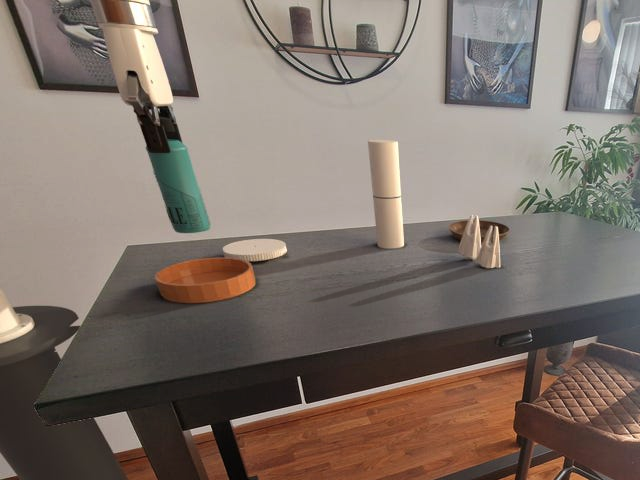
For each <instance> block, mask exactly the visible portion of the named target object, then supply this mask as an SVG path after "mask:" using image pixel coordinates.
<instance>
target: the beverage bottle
mask: <svg viewBox="0 0 640 480" xmlns="http://www.w3.org/2000/svg"><path fill="white" fill-rule="evenodd" d="M159 121H160V126H163V127H164V130H165V132H175V128H174V126H173V124H172V121H171V119H170V118H164V117H159ZM167 140H168V143H169V146H170V150H171V152H170V153H150V152H149V151H148V148H147V145H145V150H146V152H147V155H148V158H149V160H150V163H151V166H152V172H153V175H154V178H155V179H156V180H155V181H156V184H157V186H158V187H159V190H160V194H161V198H162V200H163V202H164V208H165V210H166V214H167V216H168V220H169V222H170V224H171V227H172V228H173V230H174V232H176V233H178V234H197V233H202V232H206V231H209V230H210V229H211V220H210V217H209V215H208V212H207V209H206V208H207V207H206V205H205V202H204V198H203V195H202V192H201V189H200V186H199V185H198V181H197V177H196V173H195V171H194V167H193V163H192V161H191V157H190V154H189V151H188V149H189V148H188V146H187V145H186V144H184V143H182V142H183V141H182V142H180V141H179V140H172V139H167Z"/></svg>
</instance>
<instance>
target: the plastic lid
mask: <svg viewBox="0 0 640 480" xmlns="http://www.w3.org/2000/svg"><path fill="white" fill-rule="evenodd" d="M221 249H222V254H223V256H224V257H223V258H236V259H242V260H245V261H248V262H258V261H259V262H260V261H266V260H272V259H276V258H279V257H281V256H283V255H285V254H286V253H287V251H288V250H287V244H286V242H284V241H282V240H280V239H274V238H273V239H272V238H251V239H243V240H238V241H234V242H231V243H228V244H226V245H224V246H223V247H222V248H221Z"/></svg>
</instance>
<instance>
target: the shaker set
mask: <svg viewBox="0 0 640 480" xmlns="http://www.w3.org/2000/svg"><path fill="white" fill-rule="evenodd" d="M467 220H468V223H467V225H466V228H465V231H464V233H463V236H462V239H461V241H460V242H459V244H458V248H457V253H458V254H459V255H461V256H463V257H465V258H467V259H469V260H472V261H475V262H474V263H476V264H478V265H480V267H483V268H485V269H494V268H496V269H500V268H501V251H500V249H501V248H500V241H499V234H498V227H497V226H495V229H494V236H493V243H491V238H492V226H490V227H489V229H488V232H487V234H486V236H485V239H484V241H483V243H482V244H481V238H480V227H479V220H480V219H479V216H478V214H475V215H473V214H470V216H469V218H468V219H467ZM473 220H475V222H474V224H473Z"/></svg>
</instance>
